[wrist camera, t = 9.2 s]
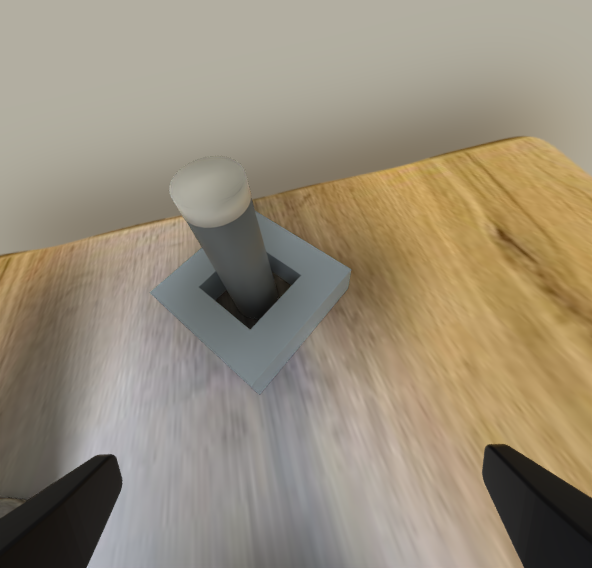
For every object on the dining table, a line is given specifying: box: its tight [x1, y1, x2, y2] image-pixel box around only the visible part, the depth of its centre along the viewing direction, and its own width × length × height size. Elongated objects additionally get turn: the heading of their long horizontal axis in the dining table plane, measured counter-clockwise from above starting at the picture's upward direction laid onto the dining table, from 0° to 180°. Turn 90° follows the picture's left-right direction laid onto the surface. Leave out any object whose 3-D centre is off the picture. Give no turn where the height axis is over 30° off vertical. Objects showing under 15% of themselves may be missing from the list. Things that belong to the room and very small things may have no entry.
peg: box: [169, 156, 278, 319], centre depth 19 cm, size 4×4×12 cm
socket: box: [150, 211, 351, 395], centre depth 23 cm, size 11×11×3 cm
